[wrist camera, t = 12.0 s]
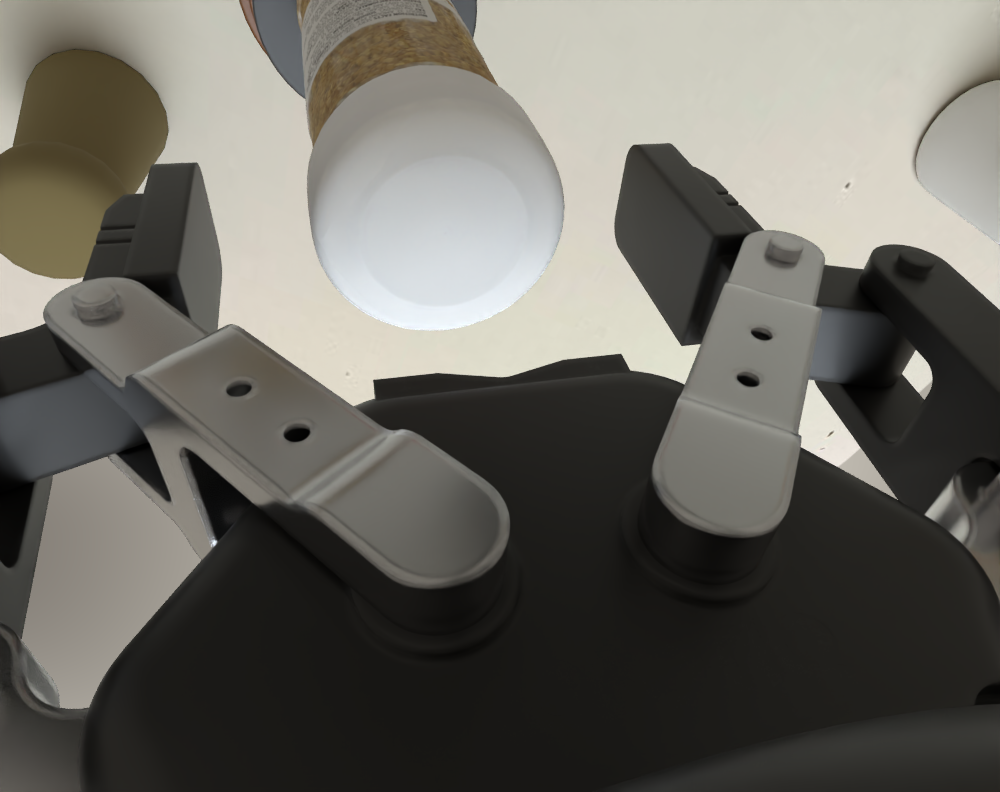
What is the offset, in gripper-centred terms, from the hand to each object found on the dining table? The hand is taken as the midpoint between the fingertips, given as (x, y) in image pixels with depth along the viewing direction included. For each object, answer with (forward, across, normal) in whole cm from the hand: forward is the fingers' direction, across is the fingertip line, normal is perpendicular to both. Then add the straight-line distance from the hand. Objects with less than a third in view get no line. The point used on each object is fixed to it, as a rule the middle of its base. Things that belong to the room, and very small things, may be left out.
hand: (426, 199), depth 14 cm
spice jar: (+12, 0, 0) cm, 12 cm away
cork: (+25, +12, +8) cm, 29 cm away
